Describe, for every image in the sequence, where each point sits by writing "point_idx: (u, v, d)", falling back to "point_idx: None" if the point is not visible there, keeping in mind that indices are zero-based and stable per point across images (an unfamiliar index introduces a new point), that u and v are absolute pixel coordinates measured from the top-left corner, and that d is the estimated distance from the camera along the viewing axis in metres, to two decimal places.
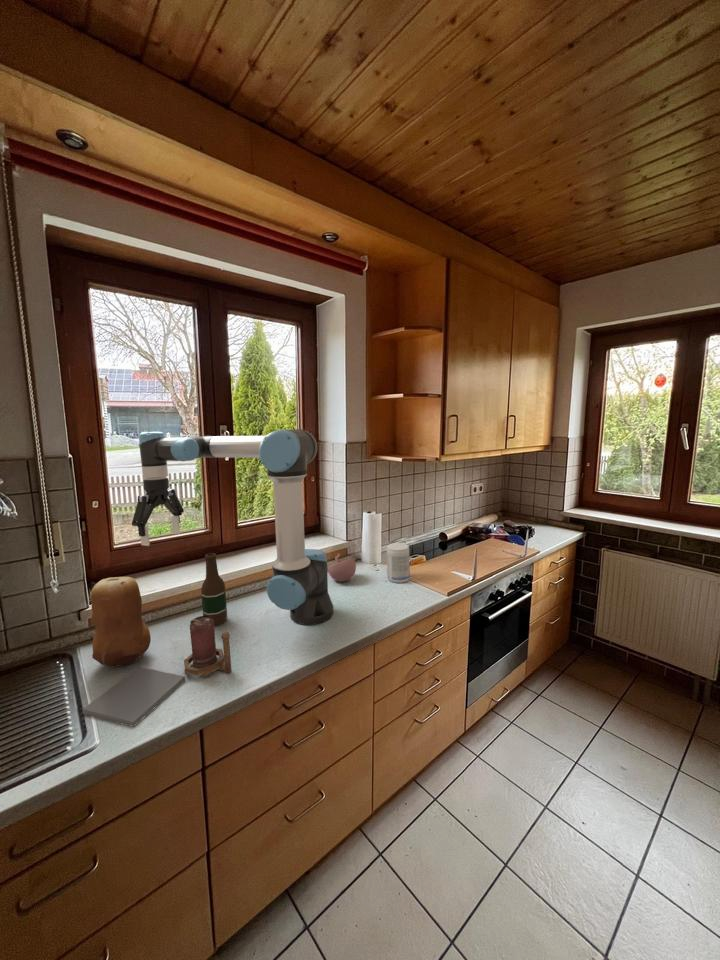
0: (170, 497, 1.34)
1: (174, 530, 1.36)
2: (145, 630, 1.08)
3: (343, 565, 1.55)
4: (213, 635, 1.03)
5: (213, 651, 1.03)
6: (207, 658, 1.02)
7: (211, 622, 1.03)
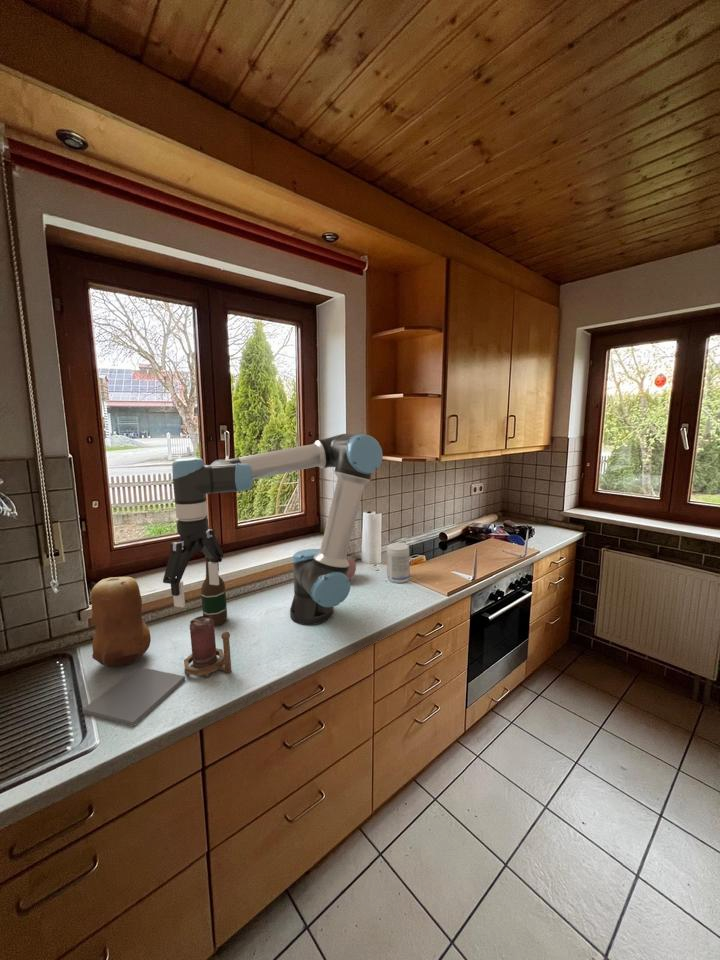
0: (208, 539, 1.06)
1: (212, 580, 1.08)
2: (145, 630, 1.08)
3: None
4: (213, 635, 1.03)
5: (213, 651, 1.03)
6: (207, 658, 1.02)
7: (211, 622, 1.03)
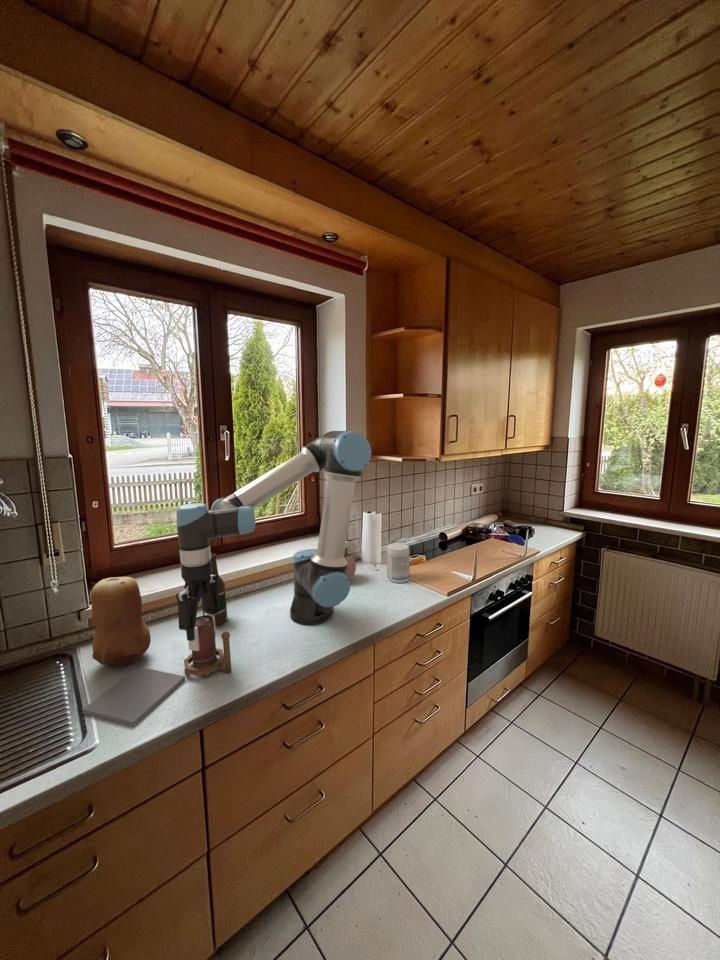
0: (209, 585, 1.07)
1: None
2: (145, 630, 1.08)
3: None
4: (213, 635, 1.03)
5: (213, 651, 1.03)
6: (207, 658, 1.02)
7: (211, 622, 1.03)
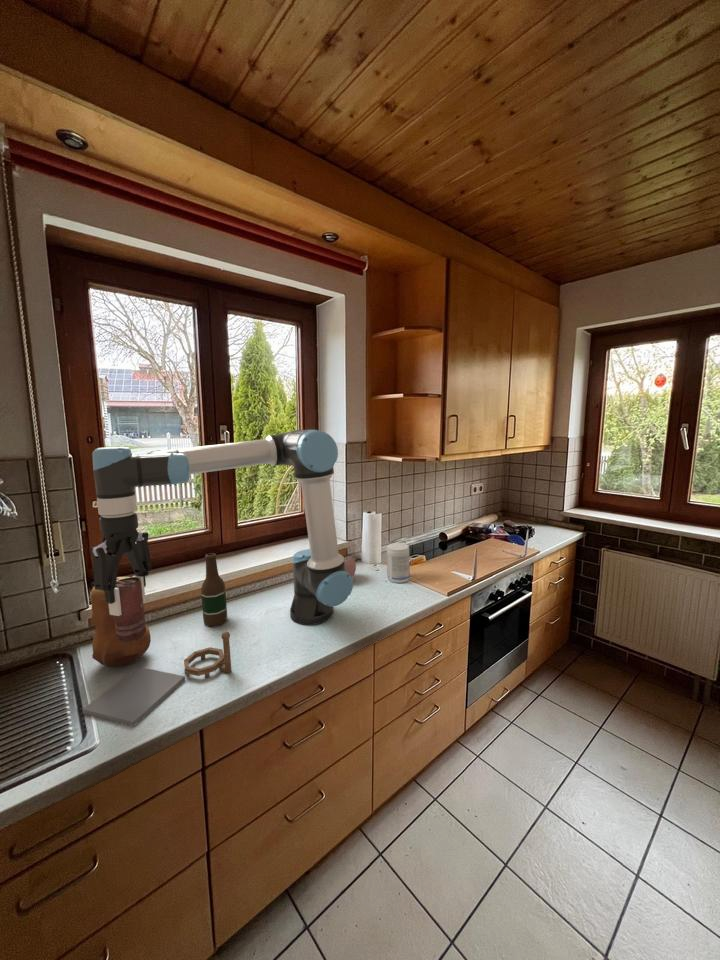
0: (138, 544, 0.94)
1: None
2: None
3: None
4: (139, 599, 0.90)
5: (139, 617, 0.91)
6: (132, 624, 0.89)
7: (136, 584, 0.90)
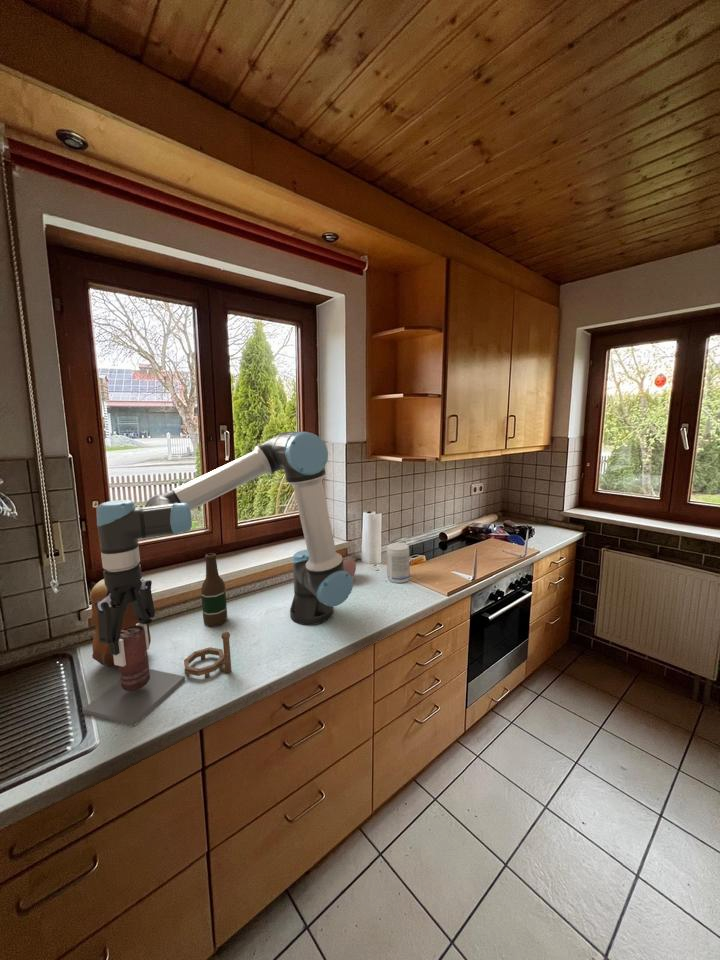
0: (142, 592, 0.95)
1: None
2: None
3: None
4: (143, 648, 0.92)
5: (143, 666, 0.92)
6: (136, 673, 0.91)
7: (140, 633, 0.91)
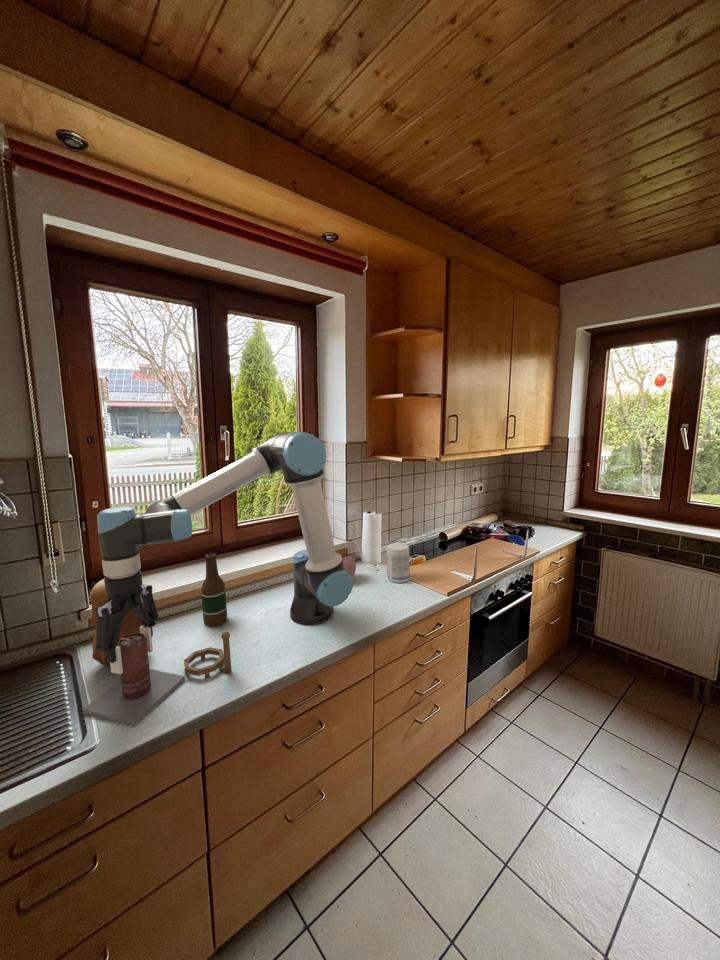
0: (143, 597, 0.96)
1: None
2: None
3: None
4: (145, 656, 0.92)
5: (144, 674, 0.92)
6: (137, 681, 0.91)
7: (142, 641, 0.92)
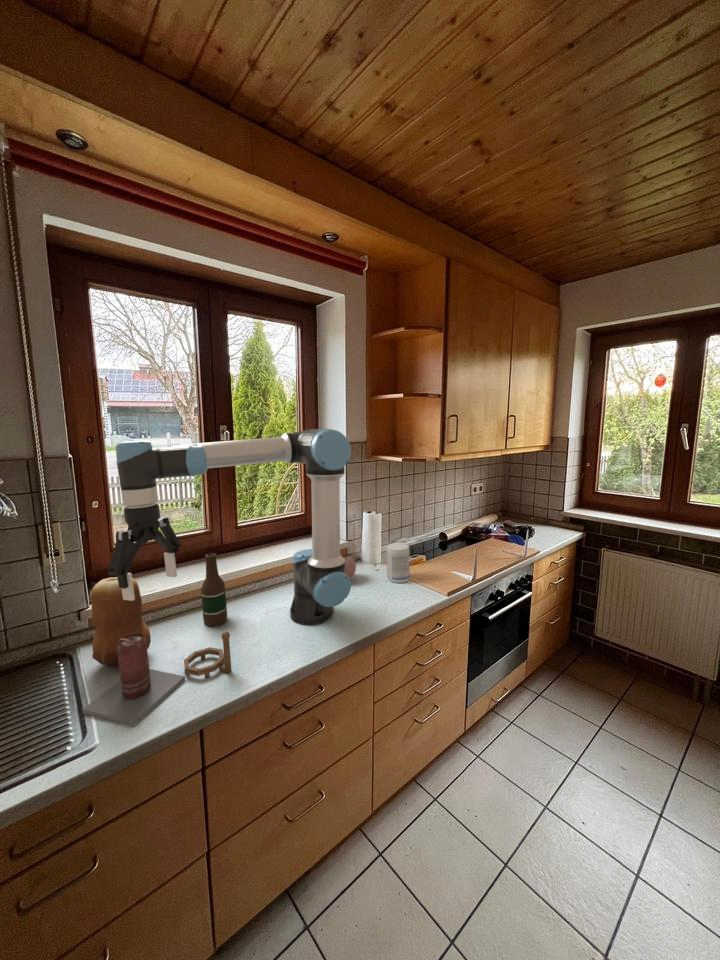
0: (162, 528, 0.99)
1: (169, 572, 1.01)
2: (145, 630, 1.08)
3: None
4: (144, 656, 0.92)
5: (144, 674, 0.92)
6: (137, 682, 0.91)
7: (142, 642, 0.92)
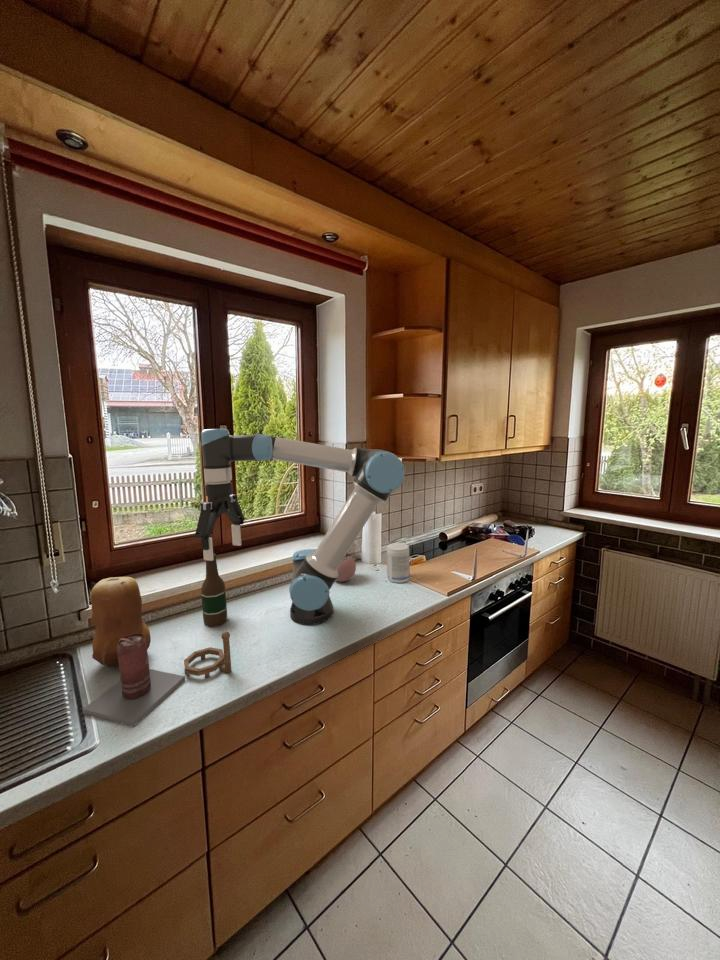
0: (231, 504, 1.17)
1: (235, 541, 1.19)
2: (145, 630, 1.08)
3: (343, 565, 1.55)
4: (144, 656, 0.92)
5: (144, 674, 0.92)
6: (137, 682, 0.91)
7: (142, 642, 0.92)
